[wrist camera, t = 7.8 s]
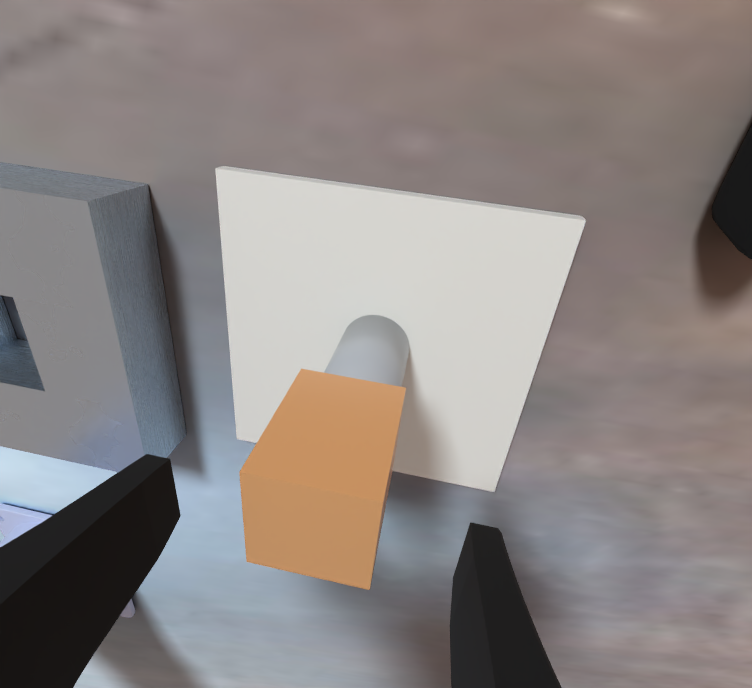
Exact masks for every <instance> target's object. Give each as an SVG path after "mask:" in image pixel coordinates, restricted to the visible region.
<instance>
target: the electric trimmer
mask: <svg viewBox="0 0 752 688" xmlns="http://www.w3.org/2000/svg"><path fill="white" fill-rule="evenodd" d="M712 215H713V219H714V220H715V222H716V223H717V225H718V226H719V227H720V229H721V230H722V231H723V232H724V234H725V235H726V236H727V237H728V238H729V240H730V241H731V242H732V243H733V244H734V245H735V247H736V248H737V249H738V250H739V251H740V252H742V253H743V254H744V255H746V256H747V257H748V258H750V259H752V125H751V127H750V129H749V131H748V133H747V135H746V137H745V139H744V141H743V143H742V145H741V147H740V149H739V152H738V154H737V156H736V158H735V160H734V162H733V164H732V166H731V168H730V170H729V172H728V174H727V176H726V178H725V180H724V182H723V184H722V186H721V188H720V190H719V192H718V194H717V196H716V199H715V201H714V204H713V206H712Z"/></svg>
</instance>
